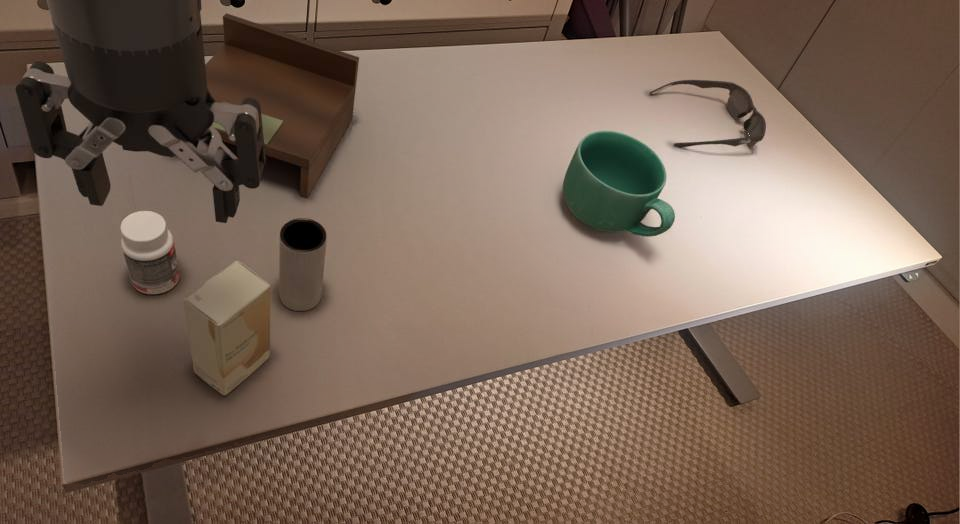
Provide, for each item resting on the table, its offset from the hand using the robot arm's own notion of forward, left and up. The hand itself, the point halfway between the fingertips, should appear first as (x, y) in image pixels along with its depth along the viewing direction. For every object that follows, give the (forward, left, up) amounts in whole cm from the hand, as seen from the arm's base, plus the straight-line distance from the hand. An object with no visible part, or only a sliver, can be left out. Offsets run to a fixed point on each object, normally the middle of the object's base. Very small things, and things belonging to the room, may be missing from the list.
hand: (164, 206), depth 49 cm
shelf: (+25, +25, -22) cm, 42 cm away
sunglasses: (+90, -7, -22) cm, 93 cm away
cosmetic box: (+3, -3, -22) cm, 23 cm away
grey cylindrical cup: (+13, +1, -22) cm, 26 cm away
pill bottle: (+2, +11, -22) cm, 25 cm away
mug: (+55, -12, -22) cm, 60 cm away
